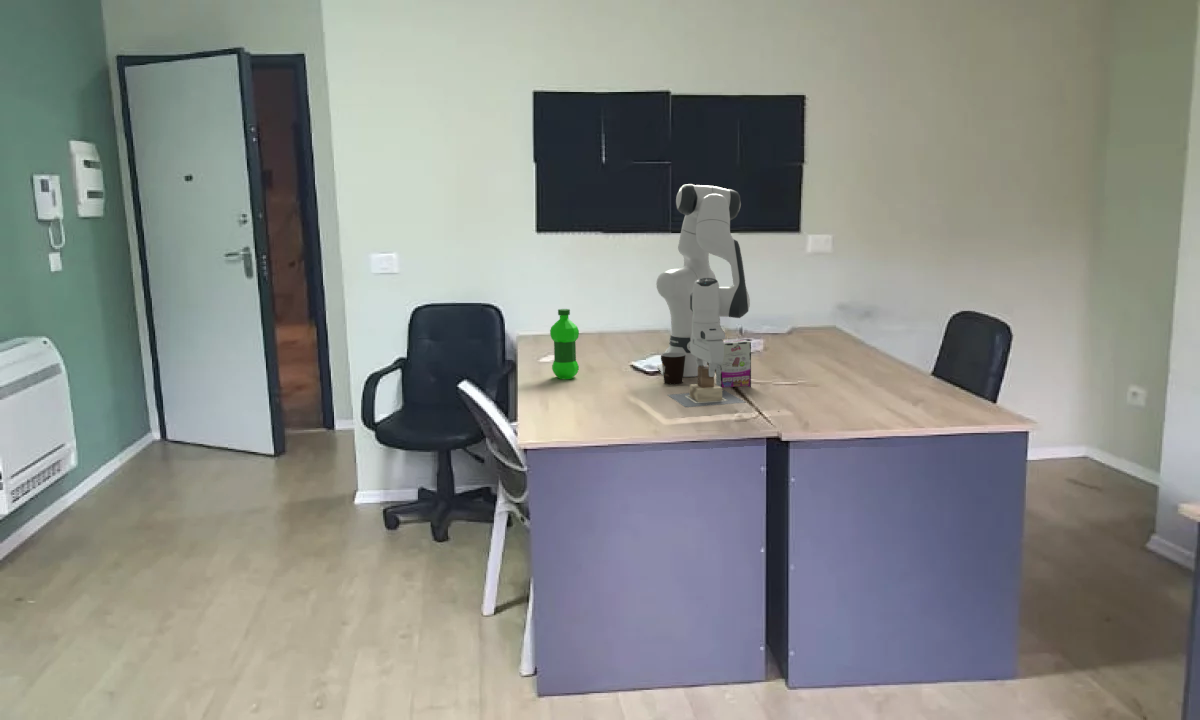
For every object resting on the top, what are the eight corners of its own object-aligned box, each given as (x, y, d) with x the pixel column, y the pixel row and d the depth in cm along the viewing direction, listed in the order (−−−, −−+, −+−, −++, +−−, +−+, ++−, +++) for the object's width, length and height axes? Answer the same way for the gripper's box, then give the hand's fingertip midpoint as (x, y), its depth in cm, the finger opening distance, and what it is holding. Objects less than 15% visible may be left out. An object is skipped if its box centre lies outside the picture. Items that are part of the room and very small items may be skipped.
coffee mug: (684, 385, 324) (684, 357, 323) (659, 384, 326) (659, 356, 324) (687, 378, 336) (687, 351, 334) (664, 377, 337) (663, 350, 335)
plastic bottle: (546, 379, 338) (544, 310, 334) (560, 374, 347) (559, 307, 343) (570, 381, 334) (568, 312, 329) (584, 376, 343) (583, 308, 338)
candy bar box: (745, 386, 321) (745, 339, 318) (751, 389, 316) (752, 341, 313) (714, 388, 318) (715, 341, 315) (720, 392, 314) (721, 343, 311)
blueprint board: (666, 399, 304) (666, 394, 304) (724, 394, 309) (724, 390, 309) (685, 411, 287) (685, 406, 287) (746, 407, 292) (746, 402, 292)
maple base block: (689, 396, 301) (689, 384, 300) (712, 394, 303) (713, 382, 302) (698, 402, 293) (698, 389, 292) (722, 400, 295) (722, 387, 294)
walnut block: (697, 385, 299) (697, 366, 298) (709, 384, 300) (709, 366, 299) (702, 387, 295) (702, 369, 294) (713, 387, 296) (714, 368, 295)
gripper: (685, 326, 303) (685, 368, 306) (708, 335, 284) (707, 380, 286) (703, 325, 305) (703, 366, 307) (727, 334, 285) (727, 379, 288)
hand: (705, 373), depth 297 cm, fingers open, 8 cm apart
